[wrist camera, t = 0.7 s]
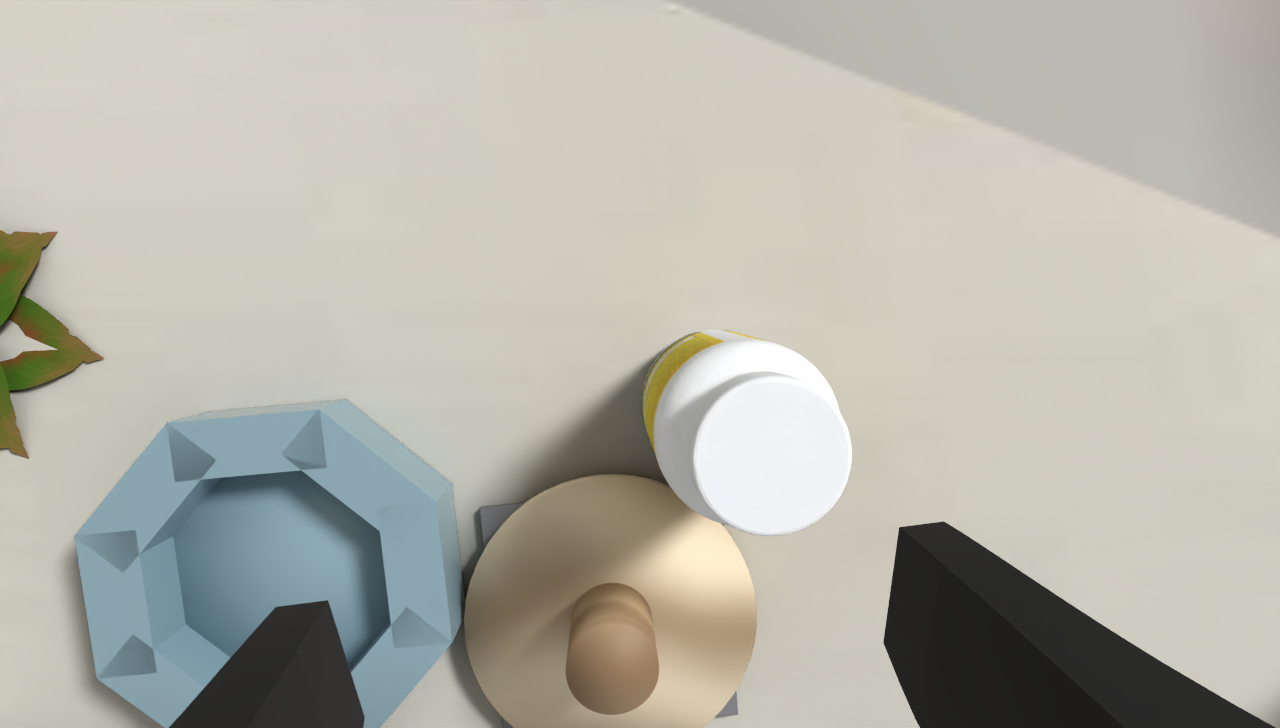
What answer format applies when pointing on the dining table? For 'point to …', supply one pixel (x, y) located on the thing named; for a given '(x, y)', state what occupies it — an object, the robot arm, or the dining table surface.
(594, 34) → the dining table surface
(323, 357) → the dining table surface
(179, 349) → the dining table surface
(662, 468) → the supplement bottle
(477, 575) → the lid
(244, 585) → the bowl
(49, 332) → the lily flower
